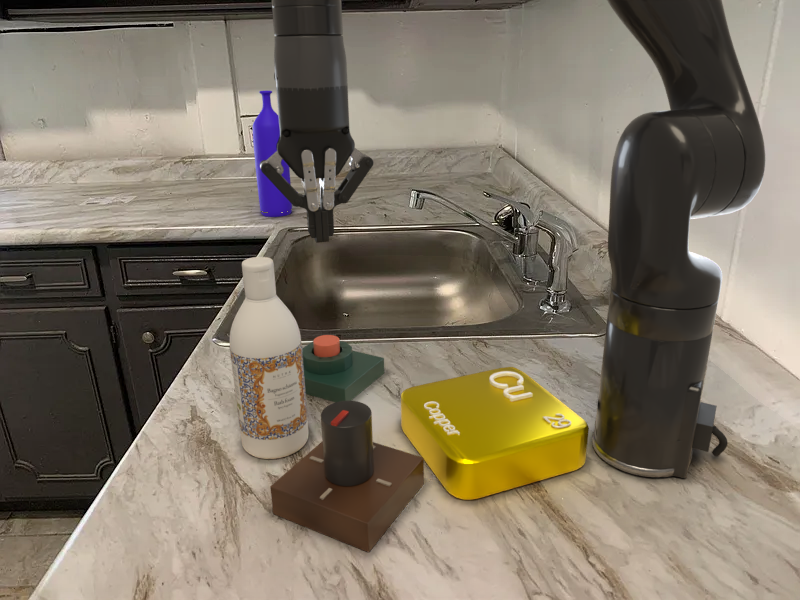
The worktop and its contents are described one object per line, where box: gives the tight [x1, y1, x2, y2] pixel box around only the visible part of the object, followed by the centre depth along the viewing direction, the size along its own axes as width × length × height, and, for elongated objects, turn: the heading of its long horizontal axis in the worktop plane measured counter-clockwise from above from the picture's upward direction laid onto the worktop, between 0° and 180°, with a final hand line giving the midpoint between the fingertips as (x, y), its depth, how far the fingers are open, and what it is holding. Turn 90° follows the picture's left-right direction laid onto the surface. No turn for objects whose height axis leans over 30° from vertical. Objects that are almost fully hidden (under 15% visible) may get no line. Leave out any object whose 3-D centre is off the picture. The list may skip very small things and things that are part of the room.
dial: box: [320, 400, 374, 486], centre depth 56 cm, size 4×4×6 cm
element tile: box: [400, 366, 590, 501], centre depth 65 cm, size 15×15×5 cm
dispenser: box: [302, 340, 385, 403], centre depth 79 cm, size 11×9×4 cm
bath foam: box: [229, 256, 310, 460], centre depth 63 cm, size 7×7×20 cm
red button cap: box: [312, 334, 341, 357], centre depth 78 cm, size 3×3×2 cm
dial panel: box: [269, 441, 425, 553], centre depth 57 cm, size 10×10×3 cm
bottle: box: [252, 90, 293, 218], centre depth 157 cm, size 8×8×30 cm
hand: (321, 240), depth 73 cm, fingers closed
